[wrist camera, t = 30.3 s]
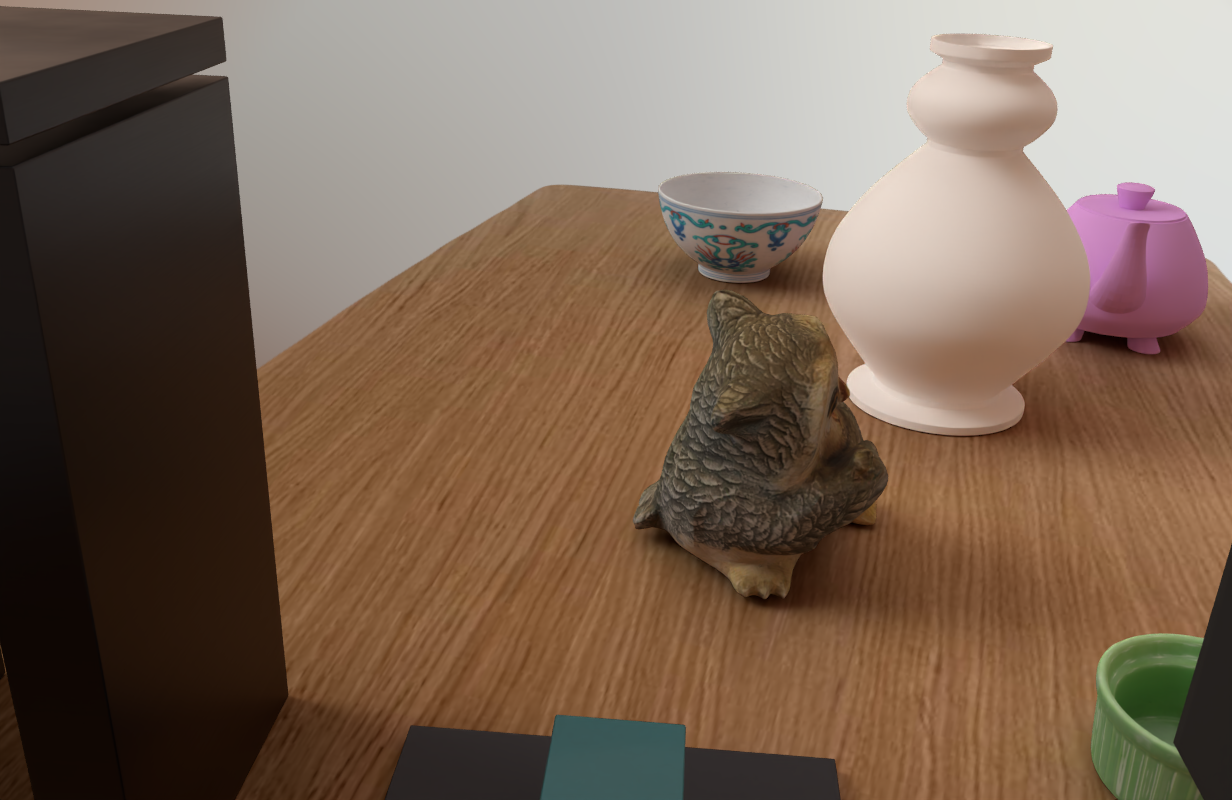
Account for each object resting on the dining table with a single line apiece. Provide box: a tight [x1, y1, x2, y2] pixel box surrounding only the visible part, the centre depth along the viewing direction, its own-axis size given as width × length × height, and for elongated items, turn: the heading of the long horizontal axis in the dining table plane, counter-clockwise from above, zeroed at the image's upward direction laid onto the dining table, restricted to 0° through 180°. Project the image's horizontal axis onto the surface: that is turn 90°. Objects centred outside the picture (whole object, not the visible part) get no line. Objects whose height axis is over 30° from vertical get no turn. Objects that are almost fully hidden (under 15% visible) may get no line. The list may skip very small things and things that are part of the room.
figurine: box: [633, 290, 888, 599], centre depth 62 cm, size 14×15×15 cm
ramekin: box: [1091, 634, 1204, 800], centre depth 48 cm, size 9×9×4 cm
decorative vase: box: [823, 34, 1090, 436], centre depth 80 cm, size 18×18×25 cm
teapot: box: [1066, 183, 1208, 354], centre depth 96 cm, size 20×14×12 cm
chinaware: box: [658, 172, 823, 283], centre depth 109 cm, size 15×15×8 cm
